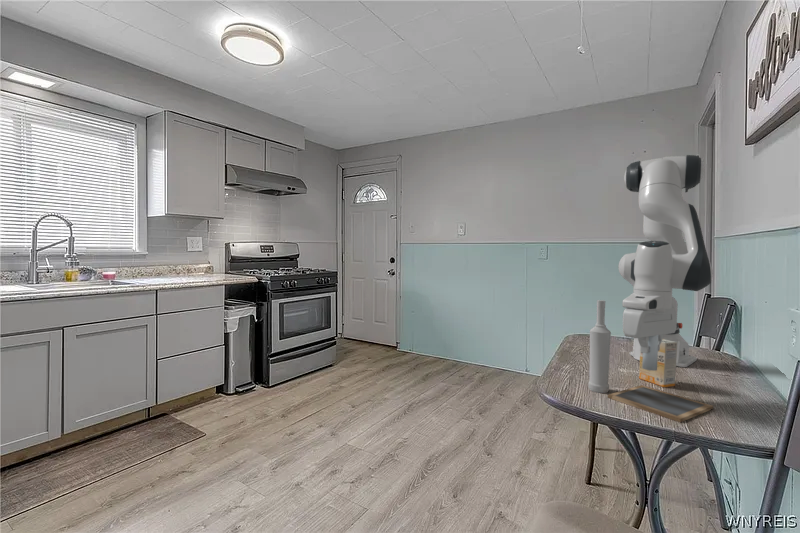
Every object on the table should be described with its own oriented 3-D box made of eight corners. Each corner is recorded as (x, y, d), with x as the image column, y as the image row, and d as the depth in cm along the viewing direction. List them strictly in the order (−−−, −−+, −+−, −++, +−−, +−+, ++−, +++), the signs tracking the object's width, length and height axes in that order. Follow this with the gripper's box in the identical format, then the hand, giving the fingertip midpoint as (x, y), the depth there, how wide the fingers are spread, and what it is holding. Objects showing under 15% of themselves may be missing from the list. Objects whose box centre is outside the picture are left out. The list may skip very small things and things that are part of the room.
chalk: (646, 366, 107) (648, 323, 107) (659, 369, 104) (661, 325, 104) (639, 367, 105) (641, 324, 105) (652, 371, 103) (654, 326, 102)
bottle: (592, 385, 112) (594, 299, 111) (611, 390, 108) (614, 300, 107) (585, 389, 108) (587, 300, 107) (605, 394, 104) (608, 302, 103)
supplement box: (637, 378, 118) (639, 336, 118) (649, 377, 120) (651, 335, 119) (663, 387, 110) (665, 342, 110) (676, 386, 112) (677, 341, 111)
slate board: (641, 387, 110) (641, 385, 110) (713, 409, 95) (713, 405, 95) (607, 397, 102) (607, 394, 102) (680, 422, 87) (680, 418, 87)
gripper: (659, 298, 112) (658, 345, 113) (618, 300, 102) (616, 352, 103) (684, 300, 107) (682, 350, 107) (643, 303, 97) (641, 358, 97)
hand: (650, 351), depth 105 cm, fingers closed on chalk, 3 cm apart
